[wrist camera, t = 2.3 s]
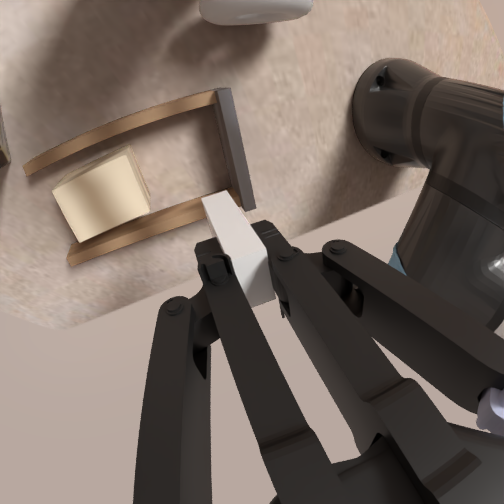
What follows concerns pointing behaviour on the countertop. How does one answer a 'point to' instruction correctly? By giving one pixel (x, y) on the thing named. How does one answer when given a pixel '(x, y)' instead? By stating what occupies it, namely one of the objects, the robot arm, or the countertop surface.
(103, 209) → the block
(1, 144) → the coffee box
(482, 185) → the robot arm
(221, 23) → the donut
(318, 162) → the countertop surface
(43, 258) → the countertop surface
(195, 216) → the channel
